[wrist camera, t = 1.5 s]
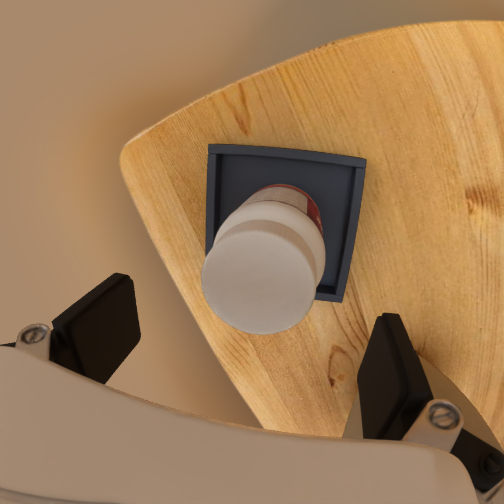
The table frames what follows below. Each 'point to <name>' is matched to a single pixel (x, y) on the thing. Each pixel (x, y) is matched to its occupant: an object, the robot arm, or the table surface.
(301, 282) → the pill bottle
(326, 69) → the table surface
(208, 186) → the dark square tray
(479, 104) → the table surface
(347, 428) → the plant pot
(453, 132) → the table surface
